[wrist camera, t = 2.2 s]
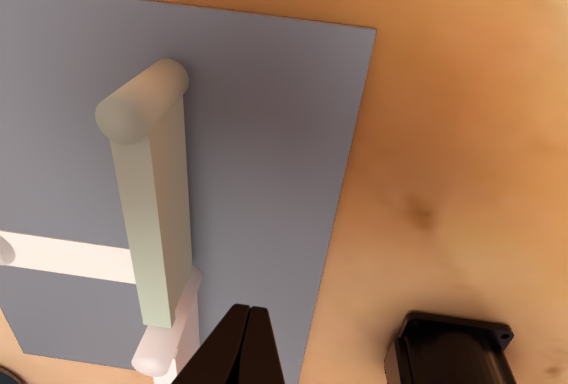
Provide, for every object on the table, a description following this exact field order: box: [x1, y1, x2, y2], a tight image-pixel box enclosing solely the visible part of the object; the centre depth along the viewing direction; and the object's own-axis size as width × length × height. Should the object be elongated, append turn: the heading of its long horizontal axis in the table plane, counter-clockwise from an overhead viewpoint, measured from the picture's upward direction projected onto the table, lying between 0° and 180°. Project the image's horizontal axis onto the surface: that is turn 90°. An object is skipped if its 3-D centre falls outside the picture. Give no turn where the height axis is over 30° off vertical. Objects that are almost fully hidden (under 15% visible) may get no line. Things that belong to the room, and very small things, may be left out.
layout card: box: [0, 0, 377, 384], centre depth 20 cm, size 22×27×6 cm
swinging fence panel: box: [95, 59, 193, 329], centre depth 17 cm, size 2×12×4 cm, turn 174°
